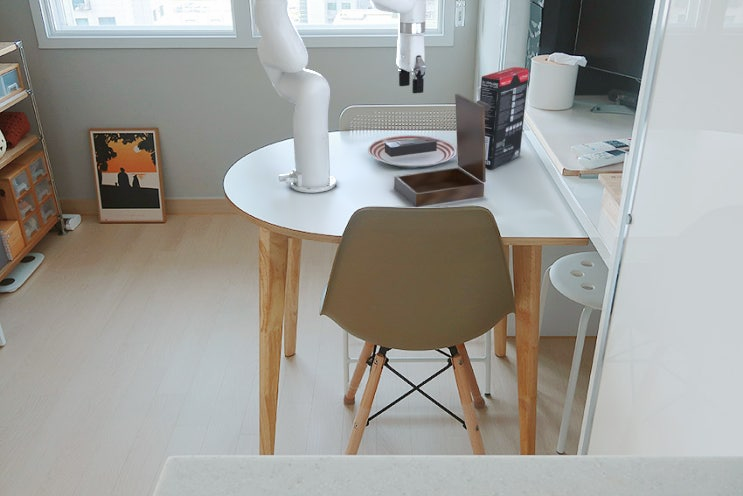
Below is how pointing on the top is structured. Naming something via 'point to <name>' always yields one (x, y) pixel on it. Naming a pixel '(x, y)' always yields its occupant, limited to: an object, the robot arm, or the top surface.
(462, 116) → the lid
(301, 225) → the top surface
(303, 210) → the top surface
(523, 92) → the graphics card box
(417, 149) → the block
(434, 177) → the box
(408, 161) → the dinner plate
